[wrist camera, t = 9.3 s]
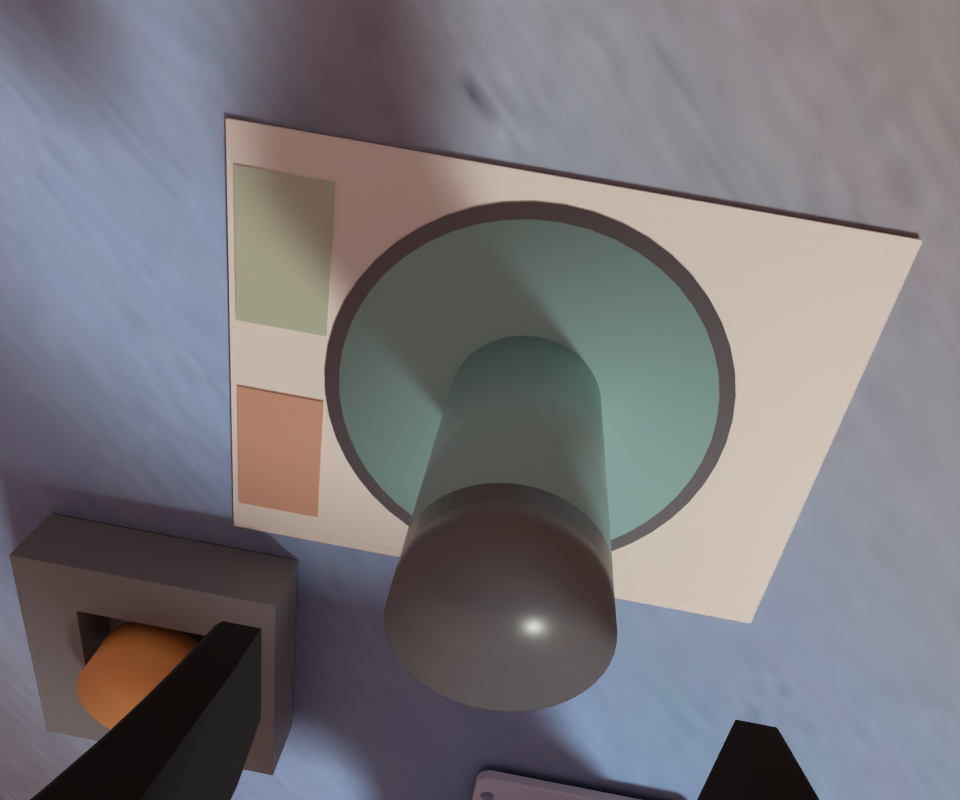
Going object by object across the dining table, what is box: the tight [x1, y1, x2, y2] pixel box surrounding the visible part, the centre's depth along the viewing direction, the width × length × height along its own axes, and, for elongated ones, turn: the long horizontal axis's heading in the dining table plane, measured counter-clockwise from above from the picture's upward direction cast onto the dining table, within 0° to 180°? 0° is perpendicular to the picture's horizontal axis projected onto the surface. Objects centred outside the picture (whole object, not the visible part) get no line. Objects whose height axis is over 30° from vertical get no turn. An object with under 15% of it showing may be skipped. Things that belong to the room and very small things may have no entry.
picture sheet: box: [226, 118, 923, 624], centre depth 20 cm, size 12×16×1 cm
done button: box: [76, 621, 198, 730], centre depth 24 cm, size 4×4×2 cm
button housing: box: [10, 514, 298, 775], centre depth 25 cm, size 8×8×2 cm
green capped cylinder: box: [384, 336, 617, 712], centre depth 16 cm, size 4×4×8 cm
